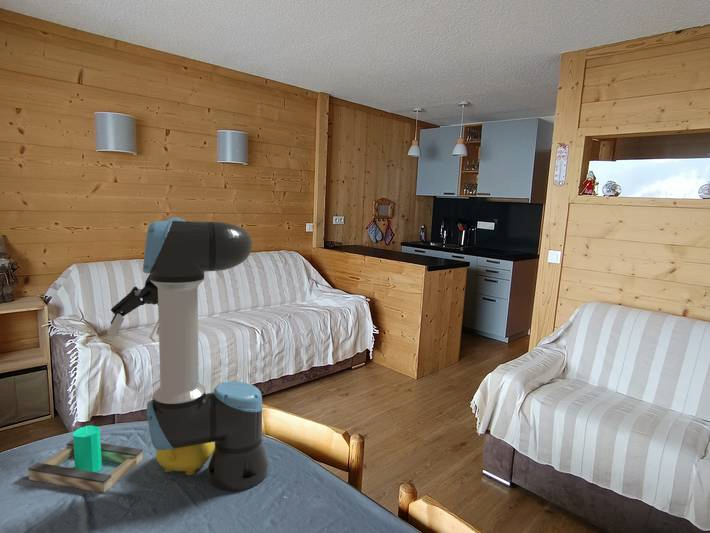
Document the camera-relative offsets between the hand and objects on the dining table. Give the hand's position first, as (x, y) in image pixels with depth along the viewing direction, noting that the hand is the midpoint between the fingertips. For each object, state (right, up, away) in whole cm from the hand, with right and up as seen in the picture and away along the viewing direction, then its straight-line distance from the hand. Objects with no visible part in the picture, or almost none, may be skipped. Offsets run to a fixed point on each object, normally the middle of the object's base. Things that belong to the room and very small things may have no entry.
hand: (131, 337), depth 126 cm
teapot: (+19, -32, -8) cm, 38 cm away
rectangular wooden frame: (-4, -32, -13) cm, 35 cm away
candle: (-4, -32, -13) cm, 35 cm away
